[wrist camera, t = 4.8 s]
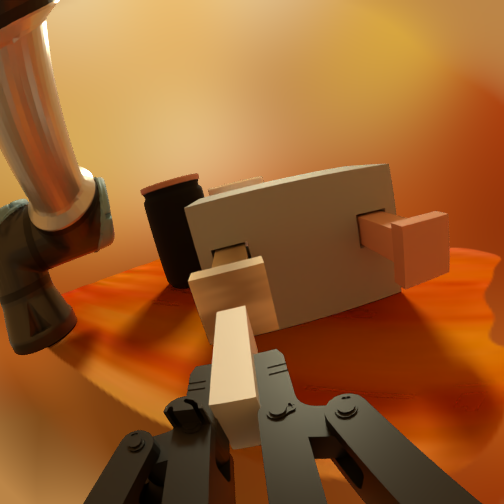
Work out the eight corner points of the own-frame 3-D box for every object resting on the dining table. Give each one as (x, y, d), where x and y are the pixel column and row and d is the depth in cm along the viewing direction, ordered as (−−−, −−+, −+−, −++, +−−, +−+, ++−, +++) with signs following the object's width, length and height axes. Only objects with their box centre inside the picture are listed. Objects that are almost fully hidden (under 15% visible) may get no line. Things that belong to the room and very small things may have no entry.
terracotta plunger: (405, 289, 17) (401, 226, 16) (342, 247, 30) (336, 206, 28) (449, 271, 17) (448, 213, 16) (378, 237, 30) (373, 198, 28)
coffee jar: (235, 267, 51) (210, 169, 46) (191, 293, 43) (158, 182, 39) (200, 265, 58) (176, 181, 53) (159, 286, 50) (130, 194, 46)
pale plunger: (210, 344, 17) (187, 281, 16) (217, 279, 29) (205, 237, 28) (279, 328, 17) (263, 262, 16) (260, 268, 29) (249, 226, 28)
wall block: (225, 342, 28) (184, 208, 24) (226, 295, 39) (199, 198, 35) (401, 291, 28) (388, 163, 24) (358, 261, 39) (343, 166, 36)
